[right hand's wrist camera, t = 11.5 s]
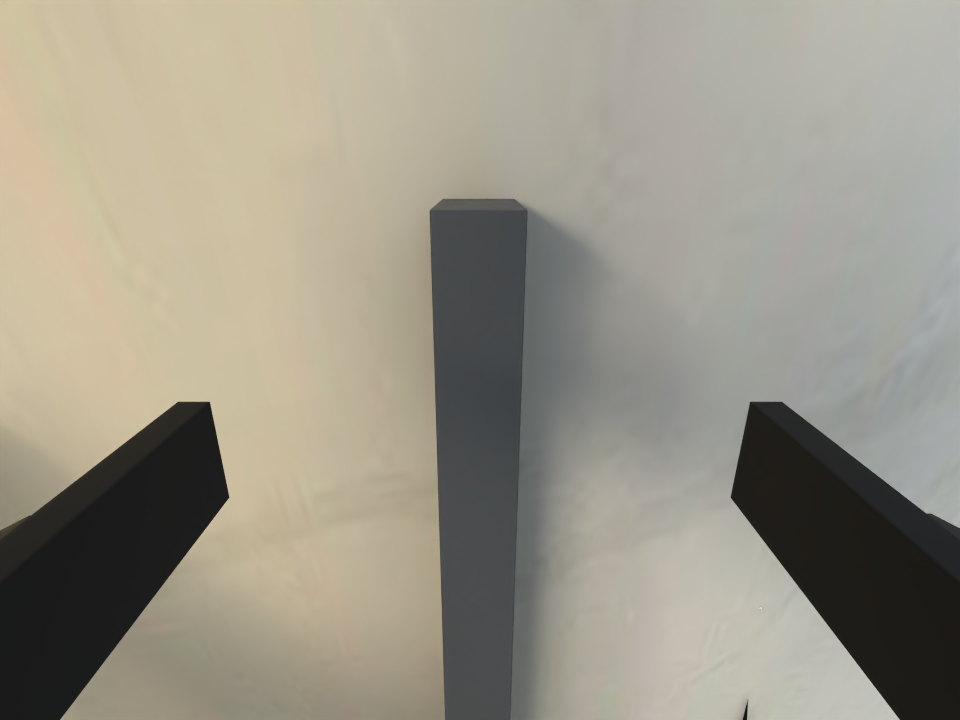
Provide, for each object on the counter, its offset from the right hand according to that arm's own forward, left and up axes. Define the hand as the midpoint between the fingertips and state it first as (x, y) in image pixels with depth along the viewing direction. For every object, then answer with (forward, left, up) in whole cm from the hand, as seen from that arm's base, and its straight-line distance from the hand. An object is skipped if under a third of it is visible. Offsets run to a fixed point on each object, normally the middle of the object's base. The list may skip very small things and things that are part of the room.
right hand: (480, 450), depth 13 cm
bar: (+15, -17, -22) cm, 31 cm away
